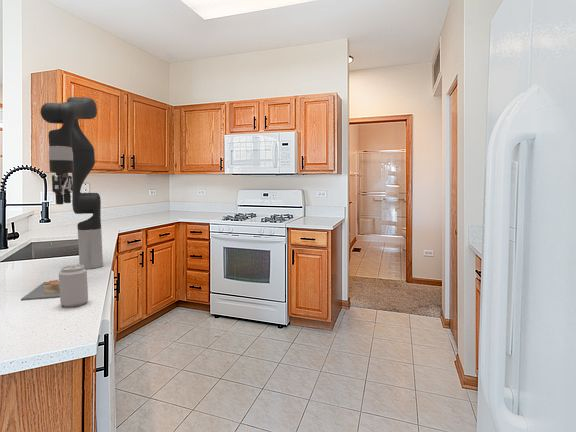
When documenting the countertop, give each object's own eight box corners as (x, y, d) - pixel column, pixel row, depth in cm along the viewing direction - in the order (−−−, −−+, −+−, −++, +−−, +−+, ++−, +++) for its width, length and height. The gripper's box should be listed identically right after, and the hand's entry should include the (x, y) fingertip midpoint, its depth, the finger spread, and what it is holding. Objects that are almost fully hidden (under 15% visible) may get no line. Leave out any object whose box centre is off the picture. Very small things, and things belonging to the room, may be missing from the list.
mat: (44, 283, 133) (44, 281, 133) (85, 280, 137) (85, 279, 137) (21, 300, 114) (20, 298, 114) (70, 296, 118) (69, 295, 118)
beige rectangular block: (75, 288, 126) (75, 279, 126) (71, 291, 121) (71, 282, 121) (49, 289, 124) (49, 280, 123) (44, 293, 119) (44, 284, 119)
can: (56, 308, 107) (54, 270, 106) (65, 300, 114) (63, 264, 113) (84, 306, 109) (82, 268, 108) (91, 298, 116) (89, 263, 115)
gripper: (66, 158, 123) (69, 204, 125) (78, 160, 137) (80, 202, 139) (42, 158, 121) (44, 205, 123) (56, 160, 135) (58, 202, 137)
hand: (63, 203), depth 131 cm, fingers open, 8 cm apart
